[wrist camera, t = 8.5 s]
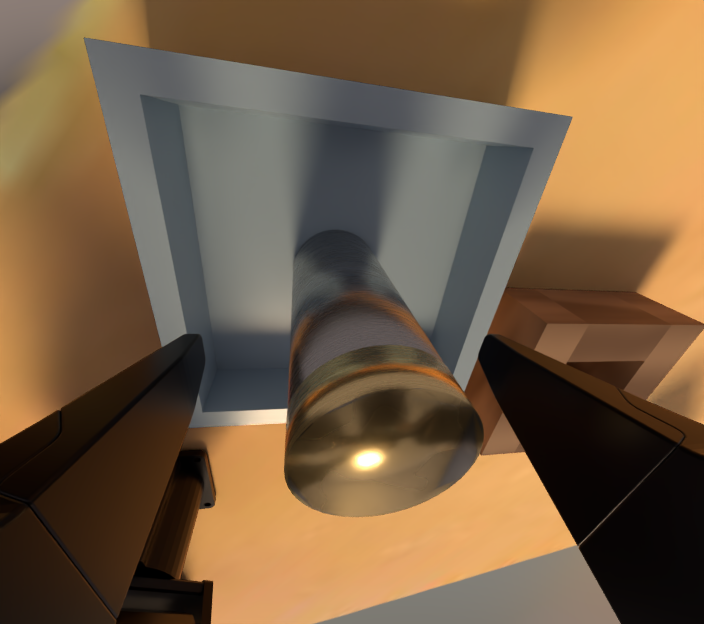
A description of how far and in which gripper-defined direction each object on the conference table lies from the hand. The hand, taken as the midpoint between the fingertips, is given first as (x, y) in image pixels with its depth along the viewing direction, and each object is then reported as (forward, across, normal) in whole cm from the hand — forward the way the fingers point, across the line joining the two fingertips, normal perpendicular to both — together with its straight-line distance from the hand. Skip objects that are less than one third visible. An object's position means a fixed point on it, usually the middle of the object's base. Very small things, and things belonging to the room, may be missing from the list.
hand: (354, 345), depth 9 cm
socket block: (+7, -15, +6) cm, 18 cm away
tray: (+7, 0, 0) cm, 7 cm away
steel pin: (+6, 0, 0) cm, 6 cm away
